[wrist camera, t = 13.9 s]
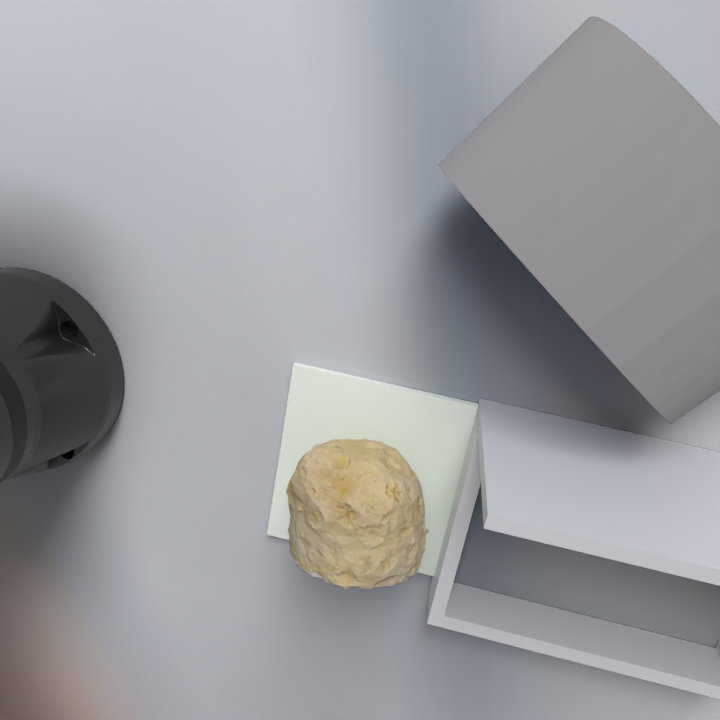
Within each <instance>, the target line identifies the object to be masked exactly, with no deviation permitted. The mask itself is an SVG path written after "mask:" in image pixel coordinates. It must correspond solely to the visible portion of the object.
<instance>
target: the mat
mask: <svg viewBox="0 0 720 720" xmlns="http://www.w3.org/2000/svg"><path fill="white" fill-rule="evenodd" d="M477 409H478V403H473V402H469V401H464V400H460V399H455V398H451V397H447V396H442V395H438V394H433V393H429V392H424V391H420V390H415V389H411V388H407V387H402V386H398V385H393V384H389V383H384V382H380V381H375V380H371V379H367V378H362V377H358V376H353V375H349V374H344V373H340V372H335V371H331V370H326V369H322V368H318V367H313V366H309V365H304V364H300V363H294V365H293V369H292V375H291V382H290V388H289V395H288V401H287V408H286V414H285V421H284V427H283V434H282V440H281V446H280V453H279V459H278V466H277V472H276V479H275V485H274V492H273V498H272V505H271V511H270V518H269V524H268V531H267V535H271V536H275V537H279V538H283V539H287V540H289V533H288V528H289V523H290V516H291V515H290V512H289V506H288V504H289V502H288V495H287V493H286V490H287V486H288V483H289V481H290V479H291V477H292V476H293V474H294V472H295V470H296V467H297V465H298V461H299V460H300V459H301V457H302V456H303V455H304V454H305V453H306V452H308V451H310V450H311V449H312V448H313V447H314V446H315V445H316V444H323V443H326V442H328V441H330V440H333V439H338V440H340V439H341V440H344V439H352V440H361V439H368V440H375V441H382V442H383V443H384V444H386V445H388V446H391V447H393V448H395V449H397V450H398V452H399V453H400V454H401V455H402V456H403V458H404V459H405V460H406V461H407V463H408V464H409V465H410V467H411V469H412V470H413V471H414V472H415V474H416V476H417V478H418V480H419V482H420V484H421V487H422V492H423V499H424V506H425V526H426V528H427V529H428V531H429V532H428V533H427V534H426V539H427V540H426V543H425V551H424V553H423V556H422V559H421V565H420V567H419V569H418V571H417V572H418V573H422V574H426V575H430V576H434V573H435V569H436V565H437V562H438V558H439V554H440V550H441V546H442V543H443V539H444V535H445V531H446V527H447V524H448V520H449V516H450V512H451V508H452V504H453V501H454V497H455V493H456V489H457V485H458V482H459V478H460V474H461V470H462V466H463V463H464V459H465V455H466V451H467V447H468V443H469V440H470V436H471V432H472V428H473V424H474V421H475V417H476V413H477Z"/></svg>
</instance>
